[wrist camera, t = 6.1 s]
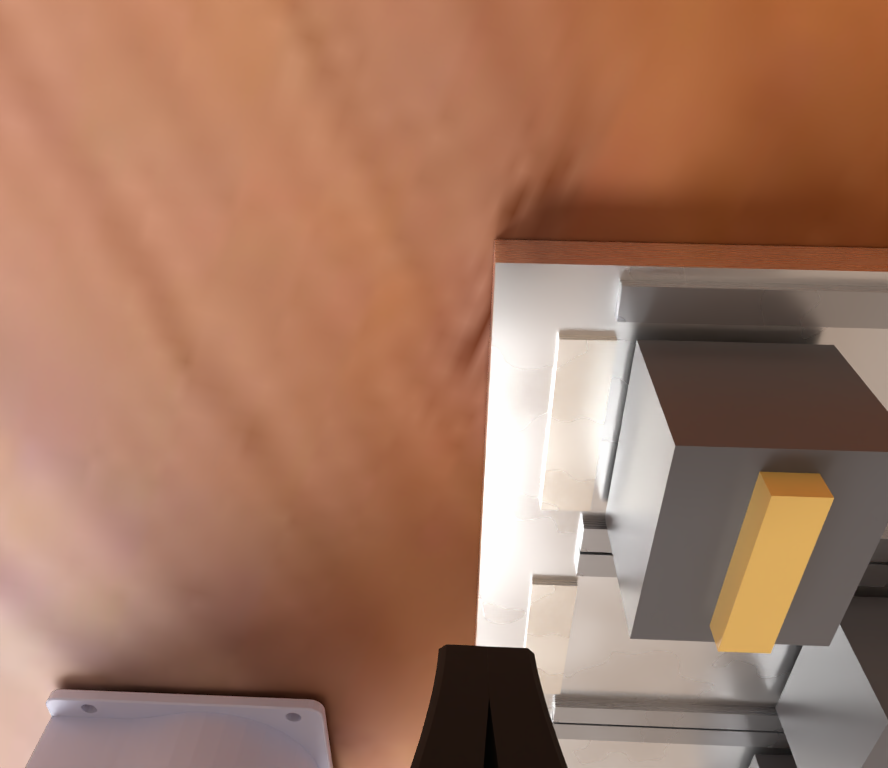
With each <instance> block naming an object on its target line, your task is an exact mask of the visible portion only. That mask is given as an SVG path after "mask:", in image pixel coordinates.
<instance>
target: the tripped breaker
mask: <svg viewBox="0 0 888 768" xmlns="http://www.w3.org/2000/svg"><path fill="white" fill-rule="evenodd" d="M605 521H606V525H607V530H608V535H609V540H610V545H611V550H612V554H613V559H614V564H615V569H616V574H617V578H618V583H619V588H620V593H621V598H622V603H623V607H624V612H625V617H626V622H627V627H628V632H629V636H630V639H648V640H675V641H701V642H715V644H716V647H717V650H718V652H743V653H769V654H771V651H772V649H773V646H774V644H780V645H807V646H830V644H831V642H832V640H833V637H834V635H835V633H836V631H837V629H838V627H839V625H840V623H841V621H842V619H843V617H844V614H845V612H846V610H847V608H848V606H849V604H850V602H851V600H852V598H853V596H854V593H855V591H856V589H857V587H858V585H859V583H860V581H861V579H862V577H863V575H864V572H865V570H866V568H867V566H868V564H869V562H870V560H871V558H872V556H873V554H874V552H875V549H876V547H877V545H878V543H879V541H880V539H881V537H882V535H883V533H884V531H885V528H886V526H887V524H888V411H887V410H886V409H885V407H884V406H883V405H882V404H881V402H880V401H879V400H878V399H877V398H876V396H875V395H874V394H873V393H872V391H871V390H870V389H869V388H868V386H867V385H866V384H865V383H864V381H863V380H862V379H861V378H860V376H859V375H858V374H857V373H856V372H855V370H854V369H853V368H852V367H851V365H850V364H849V363H848V362H847V360H846V359H845V358H844V357H843V355H842V354H841V353H840V352H839V350H838V349H837V348H836V347H835V346H834V345H821V344H783V343H745V342H707V341H669V340H637V341H636V346H635V352H634V357H633V363H632V369H631V374H630V380H629V385H628V391H627V397H626V402H625V408H624V413H623V419H622V425H621V430H620V436H619V441H618V447H617V452H616V458H615V464H614V469H613V475H612V480H611V486H610V492H609V497H608V503H607V508H606V514H605Z"/></svg>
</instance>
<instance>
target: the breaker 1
mask: <svg viewBox="0 0 888 768" xmlns="http://www.w3.org/2000/svg"><path fill="white" fill-rule="evenodd" d="M749 768H797V765H796V763H795V760H794V757H793V756H788V755H764V754H755V755H754V757H753V759H752V761H751V764H750V766H749Z"/></svg>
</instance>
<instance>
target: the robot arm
mask: <svg viewBox="0 0 888 768" xmlns="http://www.w3.org/2000/svg"><path fill="white" fill-rule="evenodd" d="M46 706H47V708H48V710H49V712H50V714H51V716H52V717H51V719H50V721H49V723H48V724H47V726H46V728H45V730H44V732H43V734H42V736H41V738H40V740H39V742H38V744H37V745H36V747H35V749H34V751H33V753H32V755H31V757H30V759H29V761H28V763H27V765H26V766H25V768H333V764H332V757H331V750H330V743H329V736H328V729H327V722H326V715H325V709H324V706H323V705H322V704H321V703H320V702H318V701H315V700H311V699H292V698H267V697H242V696H218V695H193V694H169V693H144V692H119V691H95V690H70V689H58V690H55V691H53V692H51V694H50V696H49V698H48V700H47V701H46ZM411 768H568V767H567V764H566V761H565V759H564V756H563V753H562V750H561V747H560V745H559V742H558V739H557V736H556V732H555V729H554V726H553V723H552V720H551V717H550V714H549V711H548V707H547V704H546V701H545V697H544V693H543V690H542V686H541V682H540V678H539V674H538V670H537V665H536V660H535V654H534V653H533V652H532V651H531V650H530V649H528V648H514V647H492V646H469V645H445V646H443V647H442V648H440V649H439V653H438V663H437V670H436V676H435V681H434V686H433V691H432V696H431V700H430V704H429V708H428V712H427V715H426V719H425V723H424V726H423V730H422V733H421V737H420V740H419V743H418V746H417V749H416V753H415V756H414V759H413V762H412V765H411Z"/></svg>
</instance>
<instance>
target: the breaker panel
mask: <svg viewBox="0 0 888 768" xmlns="http://www.w3.org/2000/svg"><path fill="white" fill-rule="evenodd" d="M637 340H669V341H707V342H745V343H783V344H821V345H834V346H835V347H836V348H837V349H838V350H839V352H840V353H841V354H842V355H843V357H844V358H845V359H846V360H847V362H848V363H849V364H850V365H851V367H852V368H853V369H854V370H855V372H856V373H857V374H858V375H859V376H860V378H861V379H862V380H863V381H864V383H865V384H866V385H867V386H868V388H869V389H870V390H871V391H872V393H873V394H874V395H875V396H876V398H877V399H878V400H879V401H880V402H881V404H882V405H883V406H884V407H885V409H886V410H887V411H888V248H852V247H808V246H764V245H719V244H675V243H631V242H587V241H543V240H499V239H494V259H493V279H492V300H491V320H490V340H489V360H488V380H487V401H486V421H485V441H484V461H483V482H482V502H481V522H480V542H479V562H478V583H477V603H476V623H475V643H474V646H492V647H514V648H528V649H530V650H531V651H532V652H533V653H534V654H535V660H536V665H537V670H538V674H539V678H540V682H541V686H542V690H543V693H544V697H545V701H546V704H547V707H548V711H549V714H550V717H551V720H552V723H553V726H554V729H555V732H556V736H557V739H558V742H559V745H560V747H561V750H562V753H563V756H564V759H565V761H566V764H567V767H568V768H749V766H750V764H751V761H752V759H753V757H754V755H755V754H764V755H788V756H793V755H792V752H791V749H790V746H789V744H788V741H787V738H786V736H785V733H784V730H783V728H782V725H781V722H780V719H779V717H778V714H777V711H776V709H775V707H776V705H777V703H778V701H779V698H780V696H781V694H782V692H783V689H784V687H785V685H786V683H787V680H788V678H789V676H790V674H791V671H792V669H793V667H794V665H795V662H796V660H797V658H798V656H799V653H800V651H801V649H802V647H803V645H780V644H774V646H773V649H772V651H771V654H769V653H743V652H718V650H717V647H716V644H715V642H701V641H675V640H648V639H630V636H629V632H628V627H627V622H626V617H625V612H624V607H623V603H622V598H621V593H620V588H619V583H618V578H617V574H616V569H615V564H614V559H613V554H612V550H611V545H610V540H609V535H608V530H607V525H606V521H605V514H606V508H607V503H608V497H609V492H610V486H611V480H612V475H613V469H614V464H615V458H616V452H617V447H618V441H619V436H620V430H621V425H622V419H623V413H624V408H625V402H626V397H627V391H628V385H629V380H630V374H631V369H632V363H633V357H634V352H635V346H636V341H637ZM854 596H855V597H883V598H888V524H887V526H886V528H885V531H884V533H883V535H882V537H881V539H880V541H879V543H878V545H877V547H876V549H875V552H874V554H873V556H872V558H871V560H870V562H869V564H868V566H867V568H866V570H865V572H864V575H863V577H862V579H861V581H860V583H859V585H858V587H857V589H856V591H855V593H854Z"/></svg>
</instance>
